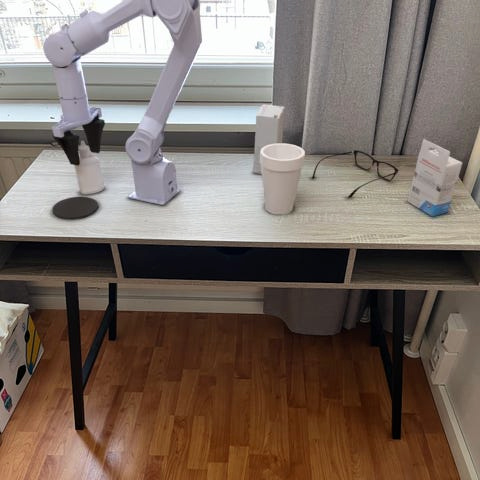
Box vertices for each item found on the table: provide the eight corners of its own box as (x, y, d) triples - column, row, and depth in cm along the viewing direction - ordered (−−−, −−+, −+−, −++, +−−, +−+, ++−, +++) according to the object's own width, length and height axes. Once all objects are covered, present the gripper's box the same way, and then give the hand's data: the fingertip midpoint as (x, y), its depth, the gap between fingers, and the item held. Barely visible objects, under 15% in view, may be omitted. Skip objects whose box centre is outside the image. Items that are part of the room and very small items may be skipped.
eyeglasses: (399, 184, 123) (403, 169, 121) (353, 201, 116) (356, 185, 114) (352, 162, 133) (354, 147, 131) (307, 176, 127) (308, 160, 124)
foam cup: (271, 221, 109) (274, 163, 100) (251, 203, 115) (252, 148, 107) (307, 211, 112) (313, 155, 104) (286, 195, 118) (290, 140, 110)
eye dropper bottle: (102, 194, 118) (93, 144, 110) (78, 195, 118) (67, 145, 110) (105, 186, 122) (96, 137, 114) (82, 187, 121) (71, 137, 114)
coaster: (107, 203, 115) (106, 201, 115) (80, 223, 108) (79, 221, 108) (71, 195, 118) (71, 193, 118) (43, 214, 111) (42, 212, 111)
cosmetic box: (259, 161, 134) (261, 103, 124) (281, 163, 133) (285, 105, 123) (253, 174, 127) (254, 114, 118) (276, 176, 126) (279, 116, 117)
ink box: (449, 212, 112) (468, 148, 103) (432, 217, 110) (450, 152, 101) (423, 197, 118) (439, 134, 109) (406, 201, 116) (421, 138, 107)
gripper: (78, 84, 112) (90, 144, 121) (34, 103, 102) (50, 167, 111) (105, 88, 110) (114, 149, 119) (62, 107, 100) (76, 172, 109)
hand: (85, 158), depth 115 cm, fingers open, 7 cm apart
